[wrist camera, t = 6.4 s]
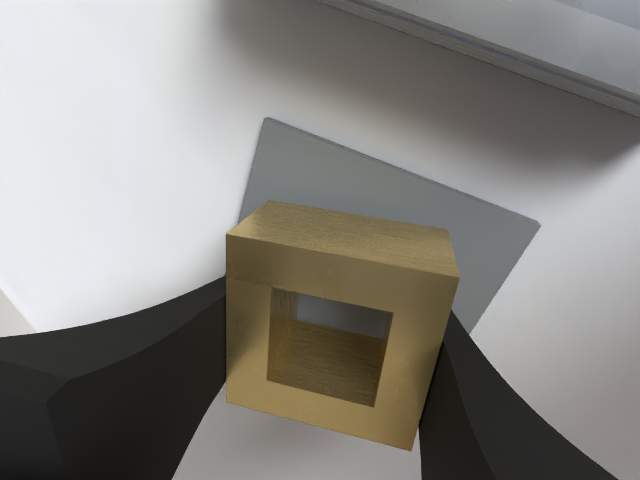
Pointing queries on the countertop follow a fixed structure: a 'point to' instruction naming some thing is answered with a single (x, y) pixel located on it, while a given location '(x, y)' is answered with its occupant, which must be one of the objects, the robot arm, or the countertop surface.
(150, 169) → the countertop surface
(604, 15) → the block
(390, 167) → the rubber mat
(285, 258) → the brass square ring
